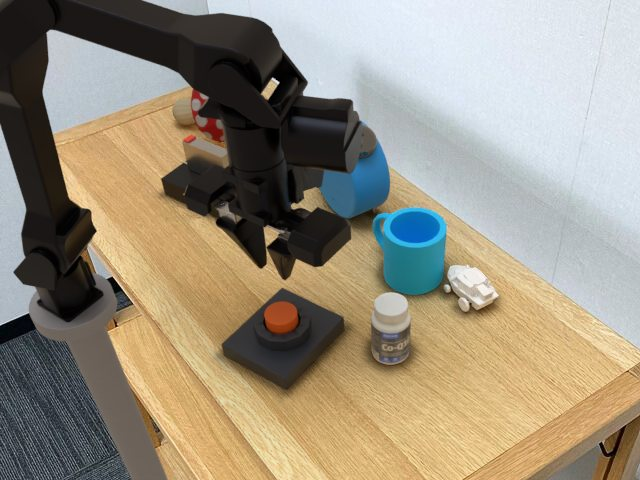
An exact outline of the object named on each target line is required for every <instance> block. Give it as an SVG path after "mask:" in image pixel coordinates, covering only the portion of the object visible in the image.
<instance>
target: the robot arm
mask: <svg viewBox="0 0 640 480" xmlns="http://www.w3.org/2000/svg"><path fill="white" fill-rule="evenodd" d="M49 31H55V32H59V33H61V34H65V35H68V36H71V37H74V38H77V39H80V40H82V41H86V42H89V43H92V44H95V45H98V46H101V47H104V48H107V49H111V50H113V51H116V52H119V53H121V54H126V55H127V56H132V57H134V58H137V59H140V60H143V61H146V62H149V63H151V64H155V65H158V66H161V67H164V68H167V69H169V70H171V71H174V72H176V73H177V74H179V75H180V76H181V77H182V79H183V80H184V81H185V82H186V83H187V84H188V85H189V86H190V87H191V88H192V90H193V89H194V90H195V91H197V92H199V93H201V94H203V95H205V96H207V97H208V98H207V100H206V101H205V102H204V104H203V105H202V106H201V108H200V109H199V110H198V115H199V116H200V117H202V118H210V119H218V120H221V123H222V129H223V134H224V139H225V142H224V145H225V149H226V150H227V155H228V161H229V165H228V166H227V167H226V168H223V167H221V166H218V165H216V164H215V165H214V166H212V167H211V168H210V169H208V170H207V171H206V172H204V173H203V174H202V175H200V176H199V177H198V178H196V179H195V180H193V181H192V182H191V183H189V184H188V185H187V187H186V190H185V193H184V197H185V201H186V204H185V205H186V208H187V210H188V211H191V212H193V213H195V214H198V215H199V216H202V217H204V218H206V217H207V216H208V215H209V213H210V212H211V211H212V207H211V203H212V202H214V201H215V200H216V199H217V200H219V201H220V202H219V203H217V204H216V205H215V209H216V210H218V211H219V216H220V217H219V218H218V219H217V218H216V220H215V225H216V227H217V228H219V229H221V230H222V231H223V233H224V234H226V235H227V236H228V237H229V238H230V239H231V240H232V241H233V242H234V243H235V244H236V245H237V246H238V247H239V248H240V249H241V250H242V252H243V253H244V254H245V255H246V256H247V257H248V258H249V259H250V261H251V262H252V263H253V264H254V265H255V266H256V267H257V268H258V269H261V270H263V268H265V267H266V266H267V264H268V254H269V257H270V259H271V260H272V263H273V265H274V267H275V269H276V272H277V273H278V275H279V277H280V278H281V280H283V281H287V280H288V279H289V278H290V277H291V276H292V273H293V270H294V266H295V264H296V261H300V262H302V263H304V264H307V265H309V266H311V267H312V268H321V267H324V265H326V263H328V262H329V261H330V260H331V259H332V258H333V257H334V256H335V255H336V254H338V252H339V251H340V250H342V248H344V246H345V245H346V244H348V243H349V242H350V241H351V240H352V225H351V221H350V219H349V218H344V217H341V216H340V215H338V214H337V213H333V212H331V211H329V210H326V209H323V208H321V207H318V206H317V207H316V208H315V209H314V210H312V211H311V210H308V209H306V208H303V207H297V208H292V205H293V204H296V205H299V204H300V203H301V202H302V201H303V200H304V199H305V193H304V192H305V191H308V190H312V189H315V188H316V189H319V188H320V187H322V183H323V176H324V170H326V171H334V172H341V173H348V174H351V173H352V172H353V171H354V170H355V168H356V165H357V162H358V158H359V154H360V149H361V142H362V122H363V121H362V120H361V121H360V115H359V111H357V110H355V109H354V101H353V100H352V99H351V98H343V97H336V98H325V97H319V96H318V97H316V96H309V95H304V91H305V90H306V88H307V86H308V84H309V82H308V81H309V80H308V79H307V78H306V77H305V76H304V74H303V73H302V72H301V70H299V68H298V67H297V66H296V64H295V63H294V62H293V60H292V59H291V58H290V57H289V55H288V54H287V53H286V52H285V50H284V49H283V47H282V46H281V43H280V41H279V39H278V38H277V36H276V35H275V33H274V32H273V28H272V27H271V26H270V25H269V24H268V23H266V22H265V21H263V20H260V19H259V18H256V17H252V16H245V15H238V14H232V13H224V12H216V13H206V14H189V13H184V12H179V11H177V10H173V9H171V8H168V7H164V6H162V5H159V4H155V3H152V2H148V1H146V0H0V129H1V132H2V135H3V139H4V141H5V145H6V149H7V151H8V155H9V158H10V161H11V164H12V167H13V171H14V174H15V177H16V180H17V183H18V186H19V187H18V188H19V190H20V194H21V196H22V199H23V202H24V206H25V213H24V217H23V218H24V219H23V222H22V227H21V232H20V238H21V246H22V252H23V256H24V258H23V260H22V261H21V262H20V263H19V264H18V266H16V268H15V269H14V270H13V275H14V276H15V277H16V278H17V279H18V280H19V282H20V283H21V284H22V285H24V286H29V287H33V288H35V290H36V291H37V292H38V294H39V296H40V299H39V300H38V301H37V304H38V306H40V307H41V308H43V309H45V310H46V311H48V312H50V313H52V314H53V315H55V316H57V317H58V318H60V319H62V320H63V321H65V322H71V321H72V320H73V319H75V318H76V317H77V316H78V315H80V314H81V313H82V312H84V311H85V310H86V309H87V308H89V307H90V306H91V305H92V304H94V303H95V302H96V301H98V300H99V299H100V298H101V297H103V295H104V293H103V291H101V290H100V289H98V288H96V287H94V286H96V281H95V279H94V276H93V274H92V273H93V271H92V269H91V266H90V264H89V261H86V260H85V259H84V257H83V256H82V254H83V253H84V252H85V251H87V249H88V248H89V244H90V243H91V242H92V240H93V238H94V236H95V235H96V234H97V232H98V230H97V228H96V227H95V225H94V222H93V215H92V213H93V212H92V210H91V209H90V208H85V207H81V206H80V205H79V204H78V203H76V202H75V201H73V200H72V199H70V197H69V193H68V189H67V185H66V181H65V178H64V173H63V169H62V165H61V161H60V156H59V154H58V149H57V145H56V141H55V138H54V133H53V129H52V126H51V122H50V118H49V117H50V116H49V113H48V110H47V106H46V101H45V97H44V92H43V91H44V85H45V81H46V77H47V71H48V67H49V62H50V59H49V44H48V43H49V42H48V33H49ZM272 79H274V80H275V81H276V82H278V84H277V86H276V87H275V88H274V90H273V91H272V93H271V94H270V95H269V97H268V98H266V97H265V96H264V95H263V92H264V91H265V89H266V88H267V87H268V85H269V83H270V82H271V80H272ZM265 228H269V229H271V230H273V231H275V232H277V233H278V234H277V237H276V238H275V239H274V240H273V241H271V242H270V243H269V244H268V245H267V244H266V236H265ZM267 252H268V253H267ZM68 318H69V319H68Z"/></svg>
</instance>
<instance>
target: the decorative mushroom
mask: <svg viewBox="0 0 640 480" xmlns="http://www.w3.org/2000/svg"><path fill="white" fill-rule="evenodd" d="M207 98H208V97H207V96H205V95H203V94H201V93H199V92H197V91H195V90H194V89H193V88H192V91H191V97H182V98H179V99H177V100H176V101H175V103H174V104H173V106H172V111H171V112H172V116H173V118H174V120H176V121H177V122H178V123H179V124H180V125H182V126H187V125H194V124H195V125H196V127H197V129H198V130H199V131H200V132H201V133H202V134H203V136H205V137H206V139H210V140H212V141H214V142H217V143H225V139H224V134H223V129H222V123H221V120H218V119H210V118H202V117H200V116H199V115H198V110H199V109H200V108H201V106H202V105H203V104H204V102H205V101H206V100H207Z"/></svg>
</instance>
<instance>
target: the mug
mask: <svg viewBox="0 0 640 480" xmlns="http://www.w3.org/2000/svg"><path fill="white" fill-rule="evenodd" d="M383 220H384V222H383V227H382V226H381V225H382V221H383ZM371 226H372V232H373V235H374V238H375V241H376V242H377V244H378V245H379V247H380V249H381V250H382V251H383V254H382V255H383V278H384V281H385V283H386V284H387V286H389V287H390V288H391V289H392V290H394V291H396V292H397V293H399V294H405V295H412V296H416V295H417V296H418V295H423V294H428V293H430V292H432V291H434V290H435V289H437V288H438V287H439V286H440V285H441V284H442V282H443V279H444V272H445V258H446V246H447V245H446V244H447V231H448V229H447V228H448V227H447V226H448V225H447V222H446V220H445V219H444V217H443V216H441V215H440V214H439V213H438V212H437V211H433V210H432V209H429V208H425V207H421V206H420V207H419V206H418V207H417V206H415V207H414V206H411V207H405V208H400V209H398V210H396V211H394V212H392V213H390V212H383V213H378V214H377V215H375V217H374V218H373V221H372V225H371ZM382 229H383V231H382Z"/></svg>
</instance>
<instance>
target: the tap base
mask: <svg viewBox="0 0 640 480" xmlns="http://www.w3.org/2000/svg"><path fill="white" fill-rule="evenodd" d="M200 175H201V174H198V173H196V172H193V171H191V170H189V169H188V165H187V161H186V160H183V161H182V162H181V164H180V165H178V166H177V167H175V168H174V169H172V170H171V171H170V172H168V173H167V174H165V175H164V176H162V177H161V178H160V180H161V184H162V188H163V191H164V196H167V197H170V198H172V199H174V200H176V201H178V202H180V203H183V204H185V205H186V201H185V197H184V193H185V190H186V187H187V185H188V184H189V183H191V182H192V181H193V180H195V179H196V178H198V177H199V176H200ZM219 202H220V201H219V200H217V199H216V200H215V201H214V202H212V203H211V207H212V211H211V212H210V213H209V214H208V215H209V216H211V217H213V218H215V219H216V220H217V219H218V218H219V217H220V216H219V211H218V210H216V209H215V205H216V204H217V203H219Z"/></svg>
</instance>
